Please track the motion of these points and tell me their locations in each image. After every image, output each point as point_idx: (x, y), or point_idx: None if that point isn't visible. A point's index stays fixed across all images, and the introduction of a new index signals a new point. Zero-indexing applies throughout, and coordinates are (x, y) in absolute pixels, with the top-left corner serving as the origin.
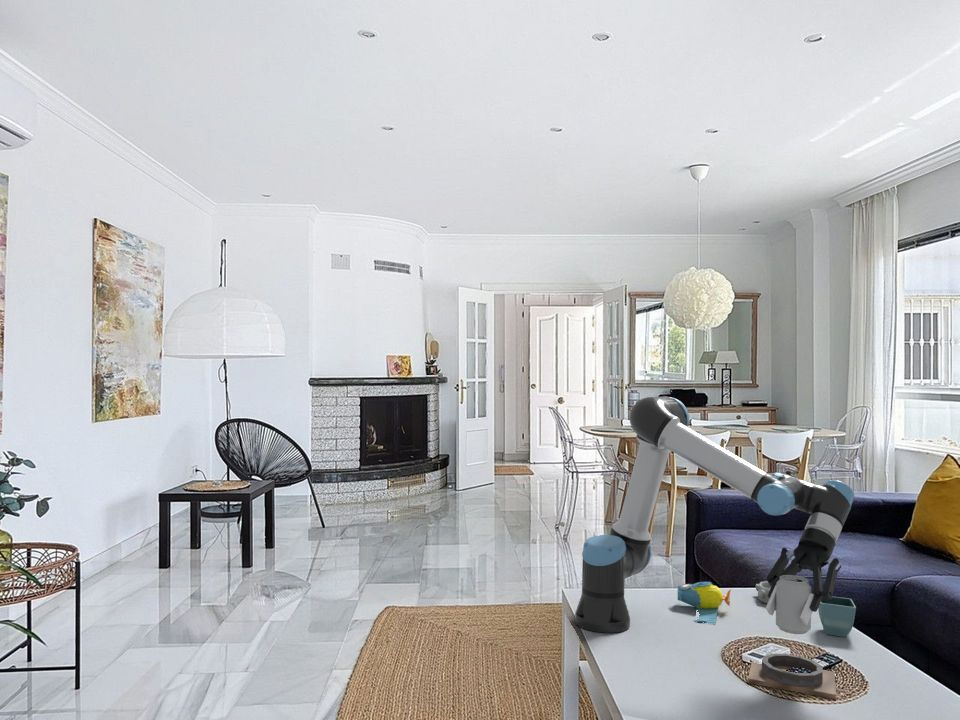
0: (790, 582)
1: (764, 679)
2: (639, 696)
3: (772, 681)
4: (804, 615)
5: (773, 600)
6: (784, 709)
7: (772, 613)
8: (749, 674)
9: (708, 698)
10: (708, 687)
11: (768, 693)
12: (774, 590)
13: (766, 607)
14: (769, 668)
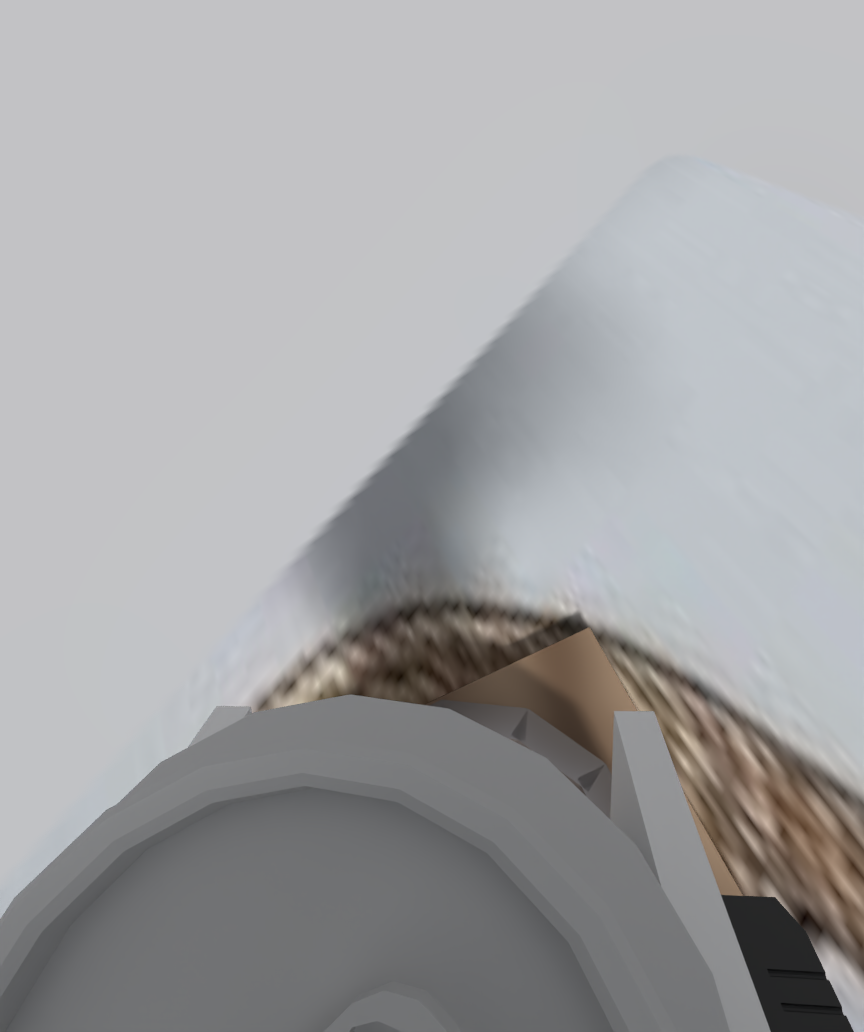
0: (257, 766)
1: (533, 684)
2: (728, 226)
3: (495, 694)
4: (201, 734)
5: (639, 839)
6: (351, 519)
7: (614, 818)
8: (616, 681)
9: (583, 380)
10: (653, 455)
11: (464, 604)
12: (727, 976)
13: (646, 716)
14: (525, 709)
